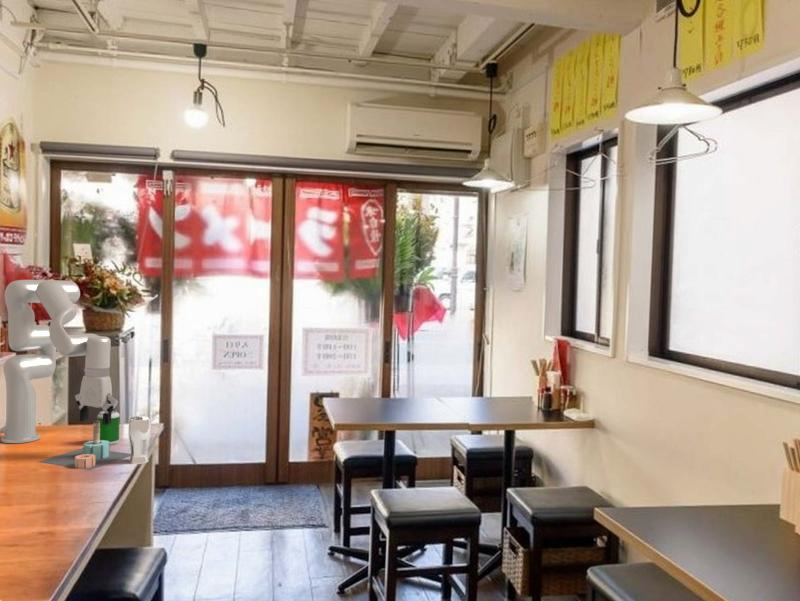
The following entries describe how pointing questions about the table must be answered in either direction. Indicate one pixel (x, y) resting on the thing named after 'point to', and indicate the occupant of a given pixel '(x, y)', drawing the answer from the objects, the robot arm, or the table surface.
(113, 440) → the soda can
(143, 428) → the beer glass
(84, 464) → the bead small
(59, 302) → the robot arm
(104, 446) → the pale teal gear
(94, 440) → the tan wooden dowel
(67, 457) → the mat
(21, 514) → the table surface
